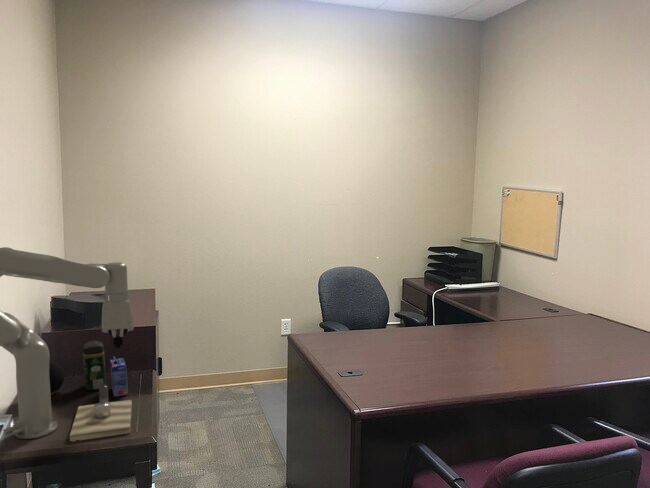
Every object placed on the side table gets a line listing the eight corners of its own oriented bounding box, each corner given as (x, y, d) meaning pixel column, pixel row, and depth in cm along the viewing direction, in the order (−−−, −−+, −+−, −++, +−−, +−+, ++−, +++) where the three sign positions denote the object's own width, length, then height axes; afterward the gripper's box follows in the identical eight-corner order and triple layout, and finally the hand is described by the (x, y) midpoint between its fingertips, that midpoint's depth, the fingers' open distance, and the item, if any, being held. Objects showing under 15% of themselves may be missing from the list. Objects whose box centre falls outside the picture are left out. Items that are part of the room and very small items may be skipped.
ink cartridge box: (110, 388, 209) (109, 353, 207) (125, 386, 211) (124, 351, 210) (113, 397, 200) (111, 361, 198) (128, 394, 202) (126, 358, 201)
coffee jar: (83, 384, 213) (81, 340, 211) (104, 381, 217) (102, 338, 215) (85, 392, 205) (83, 347, 203) (107, 388, 208) (104, 344, 207)
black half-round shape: (22, 399, 198) (20, 361, 197) (60, 390, 207) (57, 354, 206) (31, 409, 189) (28, 370, 187) (69, 400, 197) (67, 362, 196)
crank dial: (110, 417, 177) (109, 397, 176) (94, 419, 175) (93, 399, 174) (111, 402, 189) (110, 383, 188) (96, 404, 187) (95, 385, 186)
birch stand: (130, 433, 170) (130, 426, 170) (69, 441, 164) (69, 435, 164) (131, 404, 193) (131, 399, 192) (78, 411, 187) (78, 405, 187)
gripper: (92, 300, 179) (94, 351, 181) (137, 298, 183) (139, 348, 185) (96, 296, 187) (98, 345, 188) (139, 294, 191) (141, 342, 192)
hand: (118, 346), depth 187 cm, fingers closed
